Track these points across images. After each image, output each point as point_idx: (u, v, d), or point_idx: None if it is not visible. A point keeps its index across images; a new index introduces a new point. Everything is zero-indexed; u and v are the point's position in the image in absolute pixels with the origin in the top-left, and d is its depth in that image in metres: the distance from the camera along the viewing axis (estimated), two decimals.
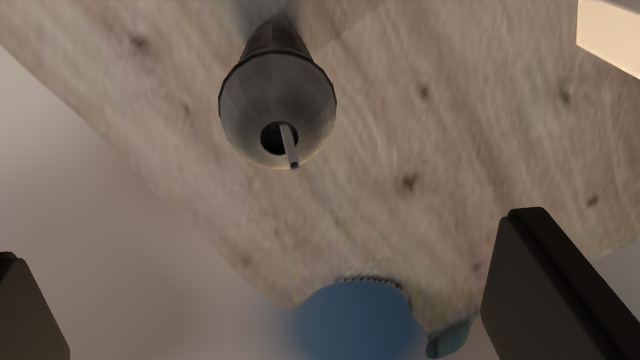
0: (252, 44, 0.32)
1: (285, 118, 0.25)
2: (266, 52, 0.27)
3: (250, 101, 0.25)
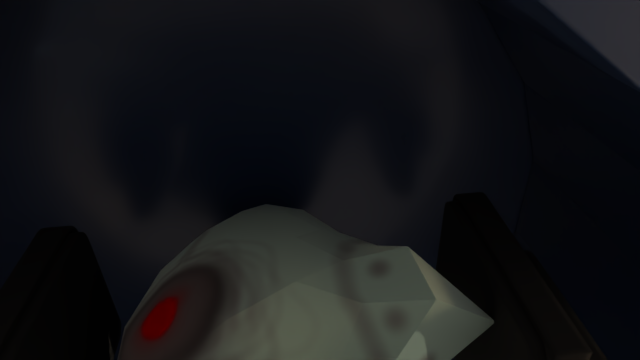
0: None
1: None
2: None
3: None
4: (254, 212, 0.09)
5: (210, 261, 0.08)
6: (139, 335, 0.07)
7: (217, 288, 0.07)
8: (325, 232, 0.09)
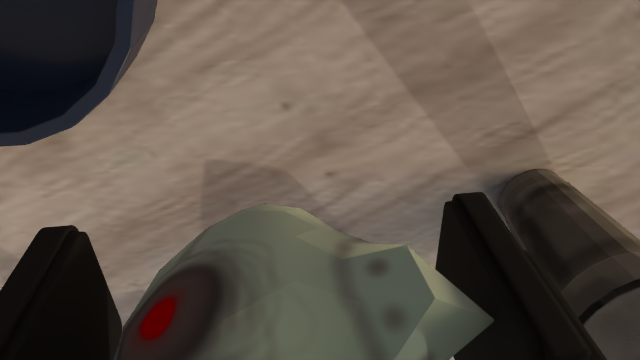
0: None
1: None
2: None
3: None
4: (253, 211, 0.09)
5: (208, 260, 0.08)
6: (137, 335, 0.07)
7: (215, 287, 0.07)
8: (324, 231, 0.09)
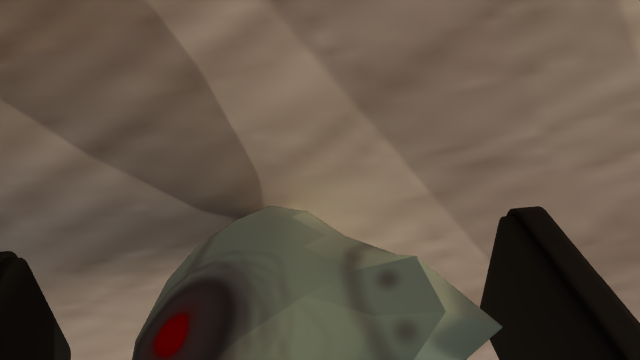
0: None
1: None
2: None
3: None
4: (259, 217, 0.09)
5: (219, 274, 0.08)
6: (152, 352, 0.07)
7: (228, 304, 0.07)
8: (331, 238, 0.09)
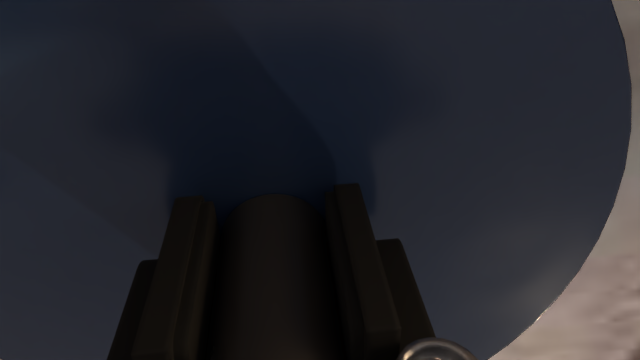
0: None
1: None
2: None
3: None
4: None
5: None
6: None
7: None
8: None
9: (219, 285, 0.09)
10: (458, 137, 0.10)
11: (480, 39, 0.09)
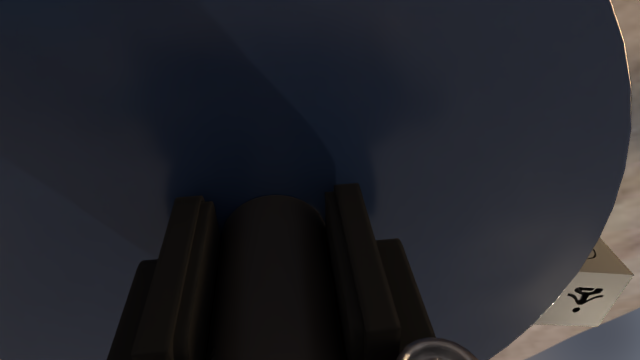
0: None
1: None
2: None
3: None
4: None
5: None
6: None
7: None
8: None
9: (219, 286, 0.09)
10: (458, 138, 0.10)
11: (480, 40, 0.09)
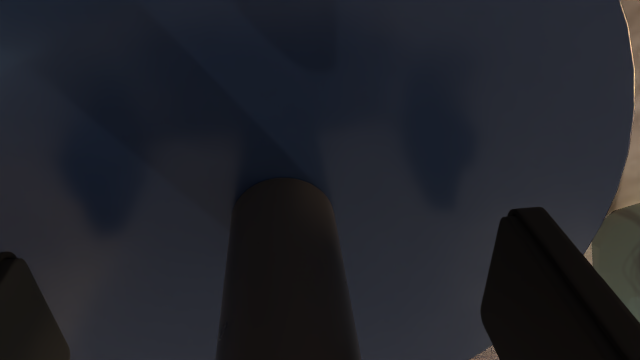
0: None
1: None
2: None
3: None
4: None
5: None
6: None
7: None
8: None
9: (230, 264, 0.09)
10: (464, 121, 0.10)
11: (486, 23, 0.09)
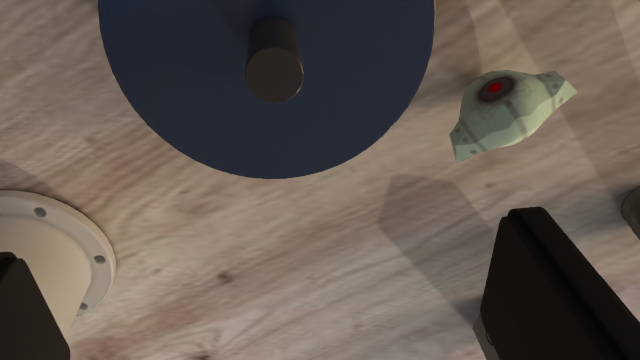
0: None
1: None
2: None
3: None
4: (495, 71, 0.29)
5: (499, 76, 0.28)
6: (489, 92, 0.27)
7: (509, 79, 0.27)
8: None
9: (250, 40, 0.21)
10: None
11: None
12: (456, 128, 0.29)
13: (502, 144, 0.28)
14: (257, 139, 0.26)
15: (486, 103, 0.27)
